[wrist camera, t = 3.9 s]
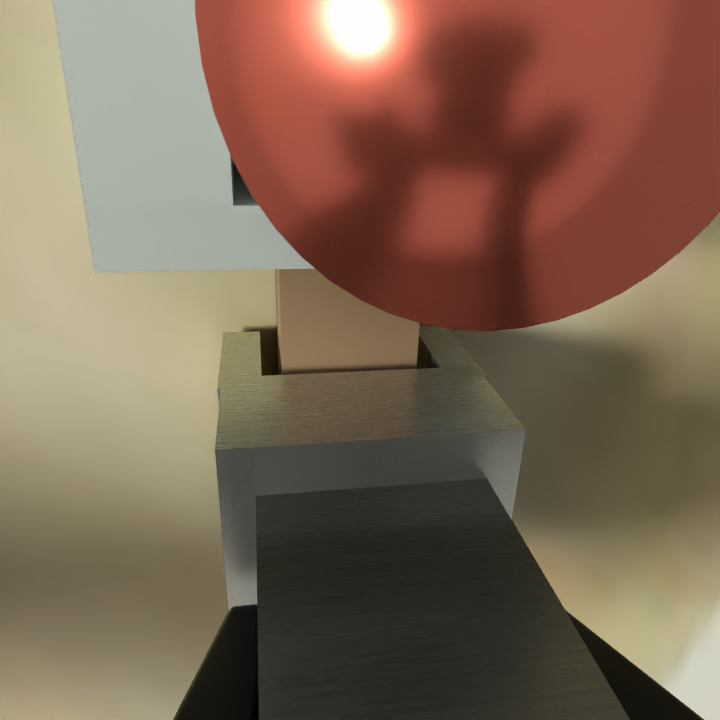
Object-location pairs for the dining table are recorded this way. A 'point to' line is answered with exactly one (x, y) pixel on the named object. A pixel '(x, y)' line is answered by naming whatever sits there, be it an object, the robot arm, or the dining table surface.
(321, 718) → the carriage
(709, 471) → the dining table surface
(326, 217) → the red plunger button
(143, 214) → the button housing
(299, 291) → the rail
